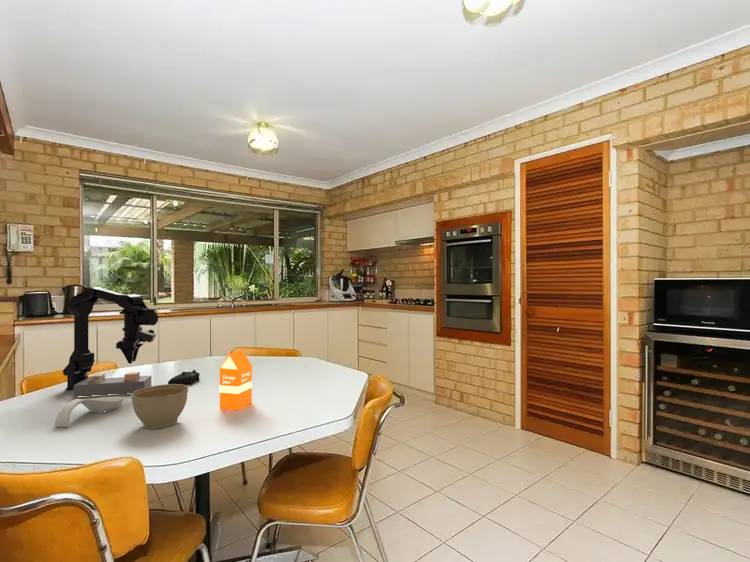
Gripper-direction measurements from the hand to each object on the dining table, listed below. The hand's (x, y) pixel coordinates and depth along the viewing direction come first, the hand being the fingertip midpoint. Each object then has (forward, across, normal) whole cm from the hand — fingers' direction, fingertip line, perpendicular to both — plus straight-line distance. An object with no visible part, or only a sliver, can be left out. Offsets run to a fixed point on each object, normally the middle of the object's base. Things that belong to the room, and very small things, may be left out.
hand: (132, 362), depth 167 cm
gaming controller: (+13, +10, -19) cm, 25 cm away
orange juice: (+12, -33, -44) cm, 56 cm away
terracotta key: (+8, 0, 0) cm, 8 cm away
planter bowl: (+12, -46, -22) cm, 52 cm away
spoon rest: (+12, -30, +4) cm, 33 cm away
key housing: (+12, 0, +6) cm, 14 cm away
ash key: (+8, 0, +13) cm, 16 cm away
